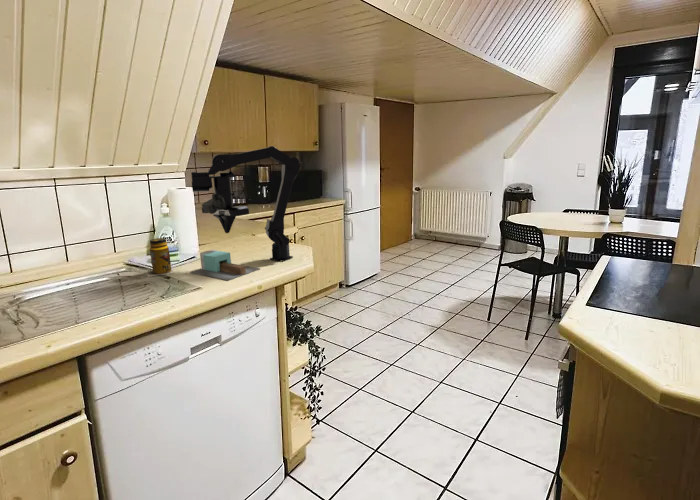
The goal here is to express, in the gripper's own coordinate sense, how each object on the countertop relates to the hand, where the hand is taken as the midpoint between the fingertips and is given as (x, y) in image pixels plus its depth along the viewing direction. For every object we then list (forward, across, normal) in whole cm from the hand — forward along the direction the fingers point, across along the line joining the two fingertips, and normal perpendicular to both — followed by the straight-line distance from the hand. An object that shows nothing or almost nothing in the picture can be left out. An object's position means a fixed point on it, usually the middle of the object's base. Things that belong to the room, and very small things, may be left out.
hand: (227, 233), depth 148 cm
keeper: (+12, +2, -7) cm, 14 cm away
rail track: (+12, +5, -7) cm, 15 cm away
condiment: (+12, -15, -19) cm, 27 cm away
